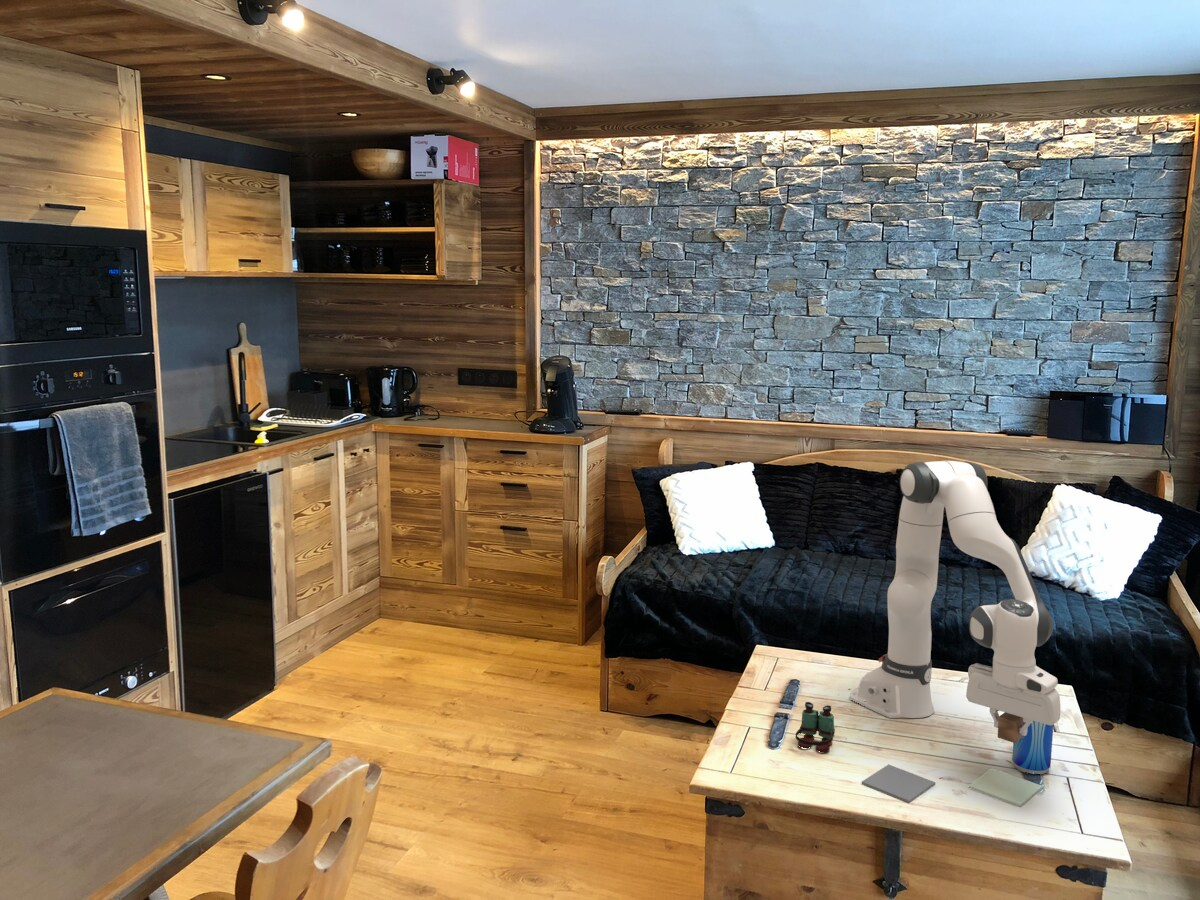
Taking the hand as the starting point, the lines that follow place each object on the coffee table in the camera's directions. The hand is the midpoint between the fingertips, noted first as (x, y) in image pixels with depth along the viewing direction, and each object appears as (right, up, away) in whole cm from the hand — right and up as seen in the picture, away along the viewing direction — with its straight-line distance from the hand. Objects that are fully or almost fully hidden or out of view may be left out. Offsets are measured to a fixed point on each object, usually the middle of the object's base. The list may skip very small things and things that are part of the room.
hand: (1010, 730), depth 220 cm
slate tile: (-24, -14, +4) cm, 28 cm away
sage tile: (0, -14, +2) cm, 14 cm away
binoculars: (-39, -11, +23) cm, 47 cm away
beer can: (+10, -13, +12) cm, 20 cm away
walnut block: (0, -2, 0) cm, 2 cm away
